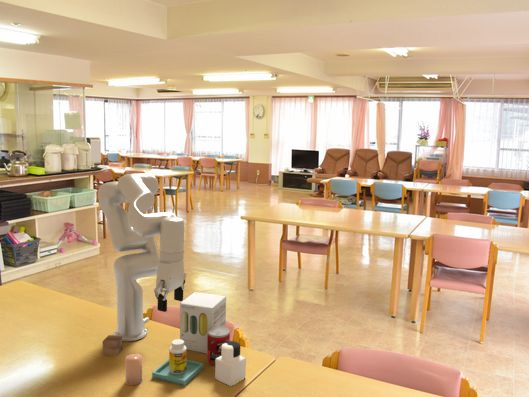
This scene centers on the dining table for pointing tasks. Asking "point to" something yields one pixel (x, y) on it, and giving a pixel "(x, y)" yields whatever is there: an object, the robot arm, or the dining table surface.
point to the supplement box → (200, 319)
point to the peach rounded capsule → (133, 369)
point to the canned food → (216, 342)
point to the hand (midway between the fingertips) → (170, 305)
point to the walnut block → (112, 345)
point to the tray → (179, 379)
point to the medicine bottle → (230, 364)
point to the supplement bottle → (177, 357)
